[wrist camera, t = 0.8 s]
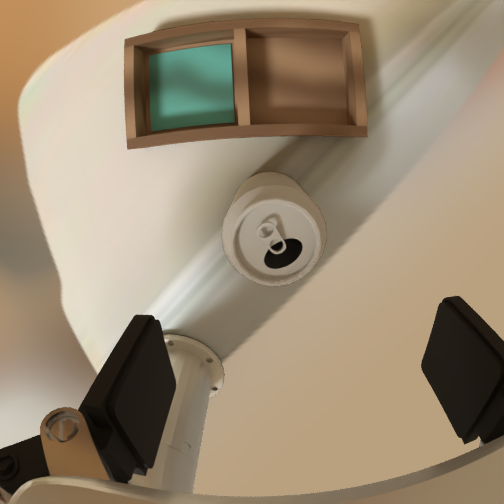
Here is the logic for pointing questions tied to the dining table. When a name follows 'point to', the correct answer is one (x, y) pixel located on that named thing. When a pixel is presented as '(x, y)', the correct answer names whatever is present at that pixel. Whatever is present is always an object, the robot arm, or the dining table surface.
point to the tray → (244, 81)
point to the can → (273, 230)
